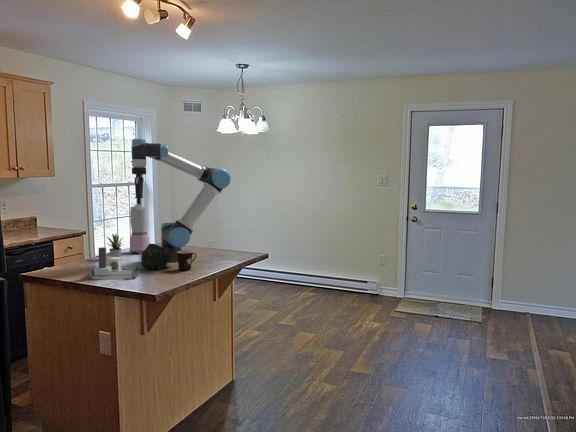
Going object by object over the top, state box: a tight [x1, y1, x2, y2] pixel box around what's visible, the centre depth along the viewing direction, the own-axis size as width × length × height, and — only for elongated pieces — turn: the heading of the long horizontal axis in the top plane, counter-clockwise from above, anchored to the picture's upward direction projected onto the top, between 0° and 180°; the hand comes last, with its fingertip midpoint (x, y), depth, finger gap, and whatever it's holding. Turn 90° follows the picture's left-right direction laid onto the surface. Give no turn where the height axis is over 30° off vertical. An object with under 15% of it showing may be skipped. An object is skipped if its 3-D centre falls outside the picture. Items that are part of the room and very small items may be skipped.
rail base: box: [88, 265, 139, 280], centre depth 223 cm, size 22×7×5 cm, turn 98°
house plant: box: [103, 233, 123, 257], centre depth 270 cm, size 14×14×16 cm
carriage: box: [94, 246, 112, 275], centre depth 221 cm, size 7×6×13 cm
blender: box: [129, 203, 150, 255], centre depth 292 cm, size 16×12×32 cm
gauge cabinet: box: [106, 256, 122, 271], centre depth 232 cm, size 9×6×8 cm
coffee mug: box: [177, 250, 197, 272], centre depth 244 cm, size 12×9×10 cm
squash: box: [140, 243, 169, 271], centre depth 246 cm, size 14×15×15 cm
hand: (139, 209), depth 246 cm, fingers closed
